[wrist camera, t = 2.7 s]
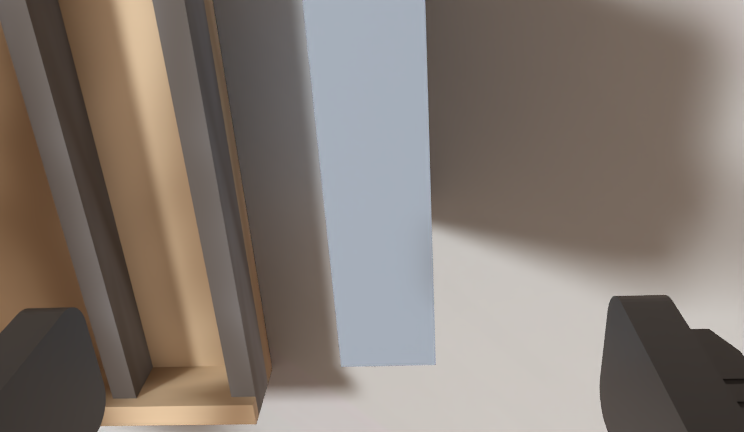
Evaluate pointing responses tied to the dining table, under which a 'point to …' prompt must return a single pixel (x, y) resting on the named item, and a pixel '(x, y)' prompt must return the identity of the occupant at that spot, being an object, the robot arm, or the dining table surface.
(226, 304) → the cabinet
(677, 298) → the dining table surface
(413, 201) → the door panel
